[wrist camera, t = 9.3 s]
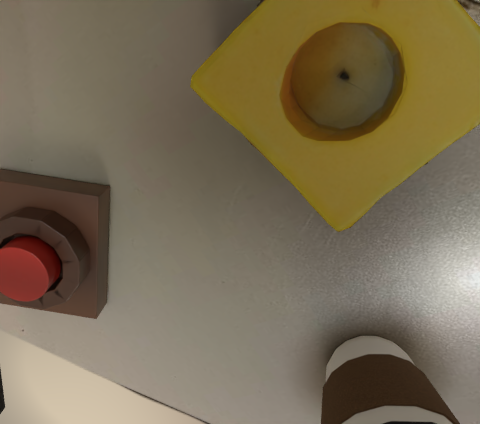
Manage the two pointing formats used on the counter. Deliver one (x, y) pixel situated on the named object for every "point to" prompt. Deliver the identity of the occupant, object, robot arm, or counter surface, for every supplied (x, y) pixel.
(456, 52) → the candle
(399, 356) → the coffee cup
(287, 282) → the counter surface
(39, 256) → the button
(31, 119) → the counter surface
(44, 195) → the switch block
